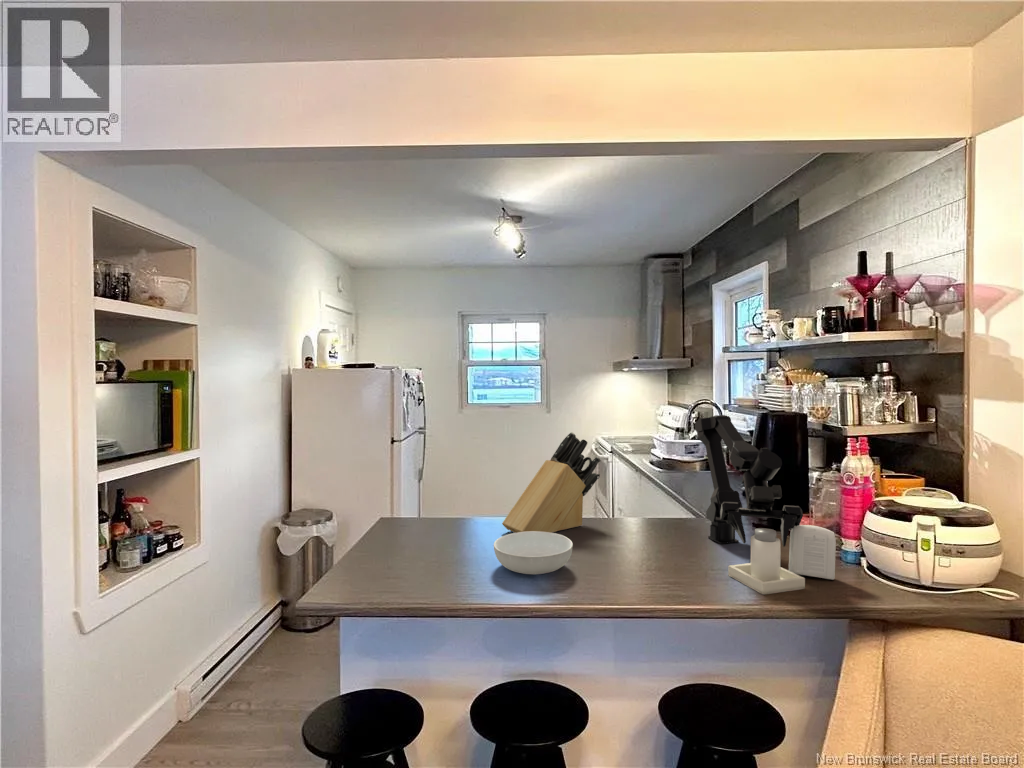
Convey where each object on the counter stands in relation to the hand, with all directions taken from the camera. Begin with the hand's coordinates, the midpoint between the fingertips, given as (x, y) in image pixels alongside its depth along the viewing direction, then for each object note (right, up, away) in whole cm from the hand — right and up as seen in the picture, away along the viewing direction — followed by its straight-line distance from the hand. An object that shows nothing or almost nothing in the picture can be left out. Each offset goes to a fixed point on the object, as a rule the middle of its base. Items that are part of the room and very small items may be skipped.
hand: (764, 544), depth 129 cm
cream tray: (0, -9, 0) cm, 9 cm away
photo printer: (+13, -9, +2) cm, 16 cm away
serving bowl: (-57, -10, +10) cm, 58 cm away
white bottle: (0, -9, 0) cm, 9 cm away
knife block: (-48, -9, +46) cm, 67 cm away
